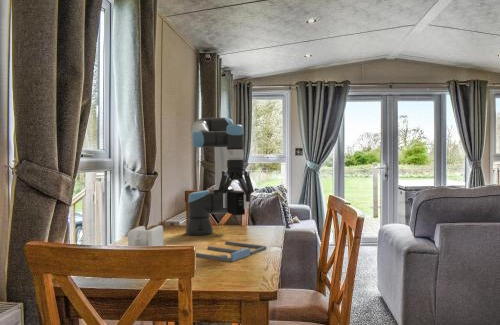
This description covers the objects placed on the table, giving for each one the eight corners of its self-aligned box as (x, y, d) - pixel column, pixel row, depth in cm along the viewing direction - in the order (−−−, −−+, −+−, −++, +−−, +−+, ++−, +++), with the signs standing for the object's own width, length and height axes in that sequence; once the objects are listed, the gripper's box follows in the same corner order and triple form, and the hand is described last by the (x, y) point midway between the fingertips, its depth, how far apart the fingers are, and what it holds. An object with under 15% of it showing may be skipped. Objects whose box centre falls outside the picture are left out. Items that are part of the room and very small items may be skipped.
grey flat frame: (226, 243, 186) (226, 237, 186) (267, 248, 173) (267, 242, 173) (187, 255, 163) (187, 248, 163) (230, 262, 150) (230, 254, 150)
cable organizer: (151, 259, 157) (151, 230, 157) (126, 259, 158) (126, 230, 159) (163, 251, 172) (163, 224, 172) (141, 250, 173) (140, 224, 173)
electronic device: (236, 215, 169) (236, 192, 169) (227, 212, 178) (226, 191, 178) (245, 214, 171) (244, 192, 171) (235, 212, 180) (235, 190, 179)
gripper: (209, 159, 177) (210, 207, 177) (252, 158, 164) (252, 210, 165) (220, 159, 184) (220, 206, 184) (261, 158, 171) (262, 208, 171)
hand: (235, 208), depth 174 cm, fingers closed on electronic device, 11 cm apart
